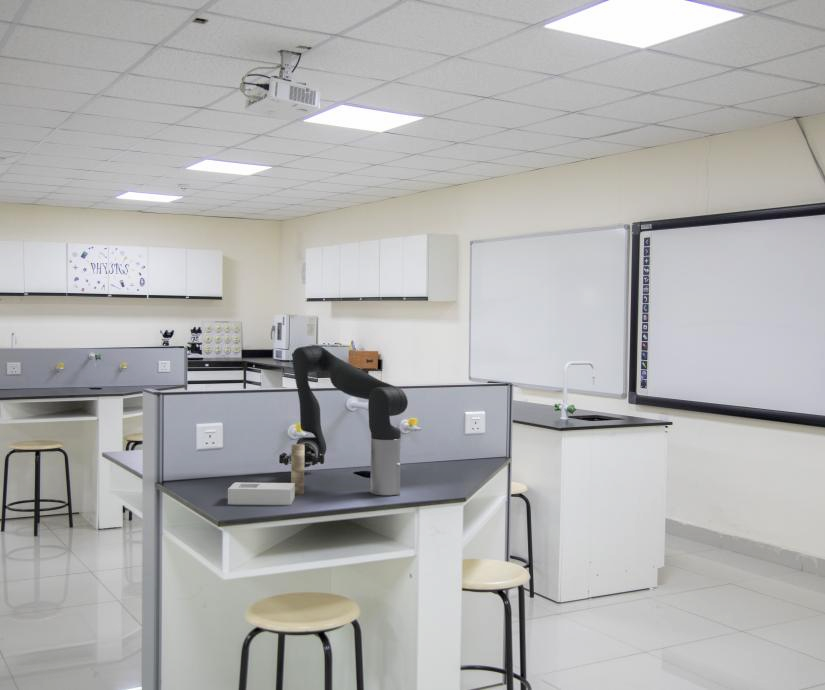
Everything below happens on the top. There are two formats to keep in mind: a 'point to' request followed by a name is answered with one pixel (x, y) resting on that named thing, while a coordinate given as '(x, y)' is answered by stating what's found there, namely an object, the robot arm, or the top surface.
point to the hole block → (261, 493)
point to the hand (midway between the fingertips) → (299, 461)
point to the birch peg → (298, 467)
